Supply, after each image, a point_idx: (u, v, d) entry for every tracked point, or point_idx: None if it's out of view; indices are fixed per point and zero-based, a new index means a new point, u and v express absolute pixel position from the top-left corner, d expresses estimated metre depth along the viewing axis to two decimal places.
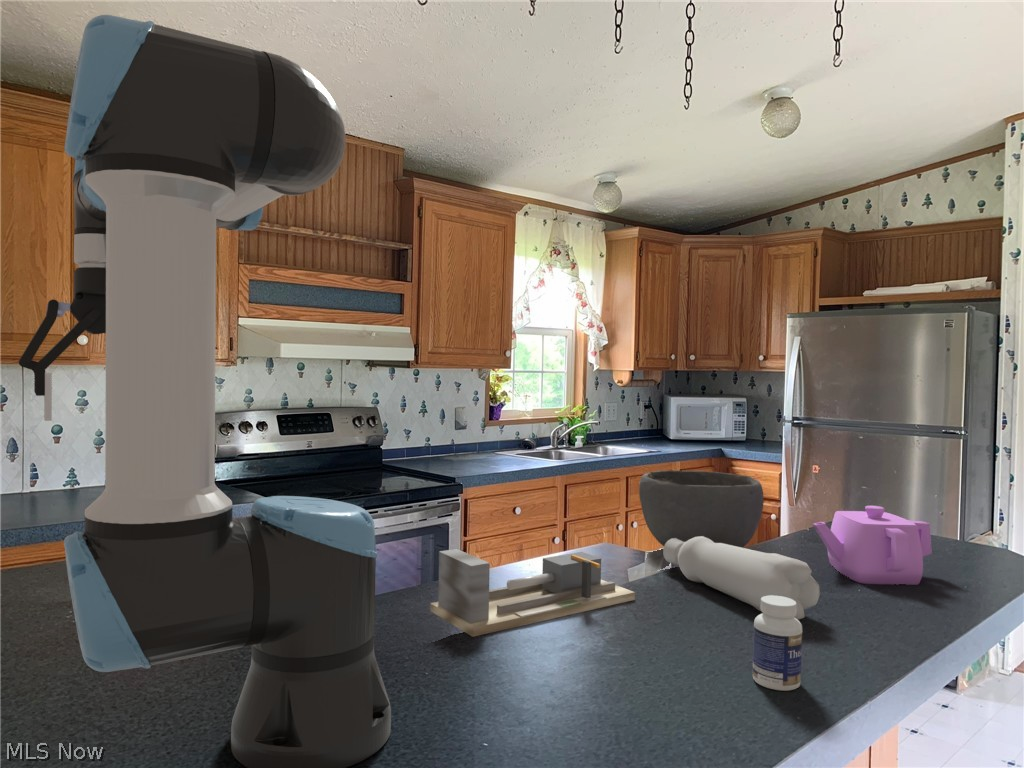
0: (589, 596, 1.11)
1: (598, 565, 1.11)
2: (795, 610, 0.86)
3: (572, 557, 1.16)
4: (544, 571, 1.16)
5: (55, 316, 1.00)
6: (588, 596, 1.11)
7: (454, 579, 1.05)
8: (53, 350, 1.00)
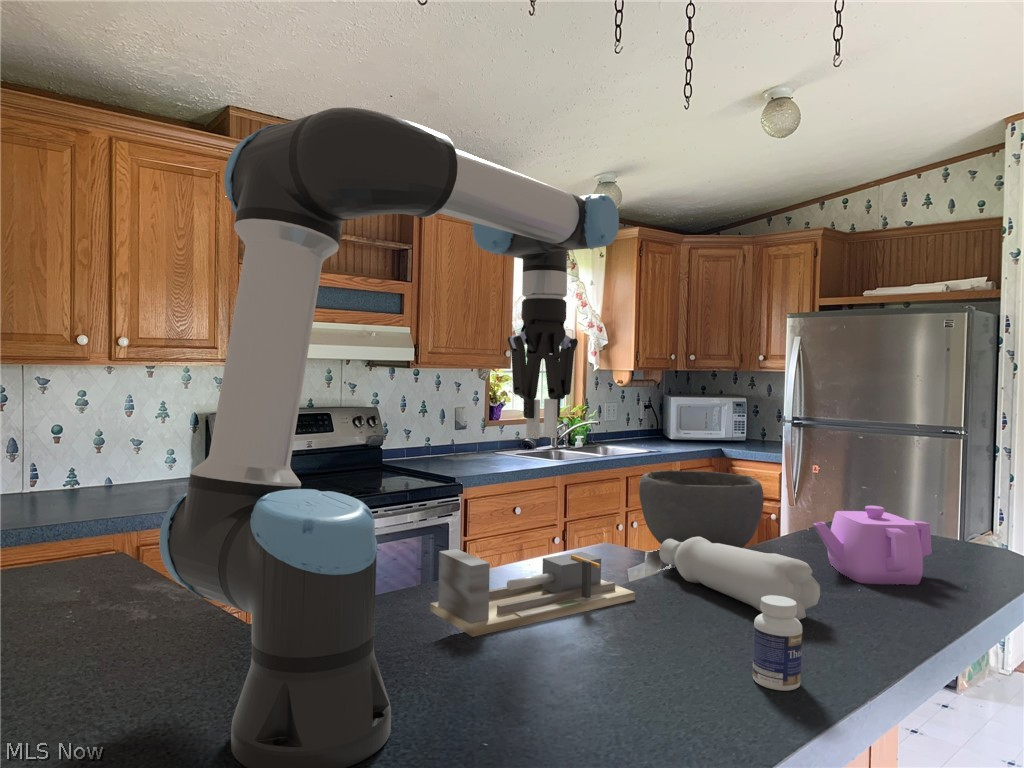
0: (589, 596, 1.11)
1: (598, 565, 1.11)
2: (795, 610, 0.86)
3: (572, 557, 1.16)
4: (544, 571, 1.16)
5: (524, 347, 1.21)
6: (588, 596, 1.11)
7: (454, 579, 1.05)
8: (534, 378, 1.22)
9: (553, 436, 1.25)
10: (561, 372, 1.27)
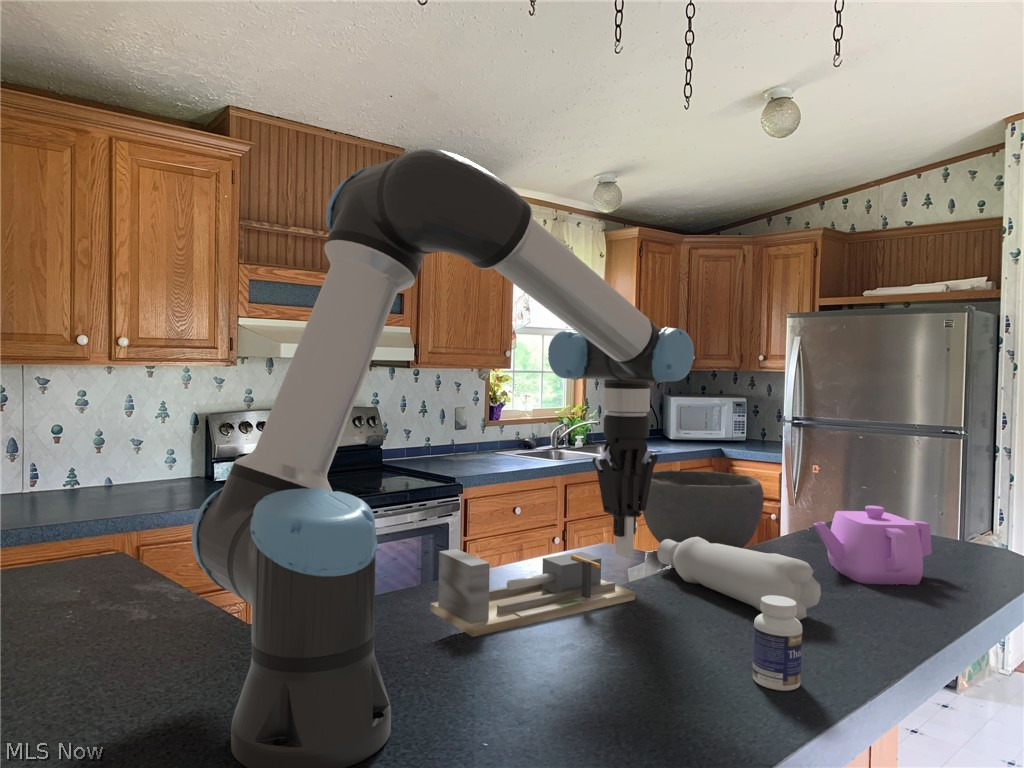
0: (589, 596, 1.11)
1: (598, 565, 1.11)
2: (795, 610, 0.86)
3: (572, 557, 1.16)
4: (544, 571, 1.16)
5: (610, 468, 1.19)
6: (588, 596, 1.11)
7: (454, 579, 1.05)
8: (623, 497, 1.21)
9: (629, 554, 1.22)
10: None
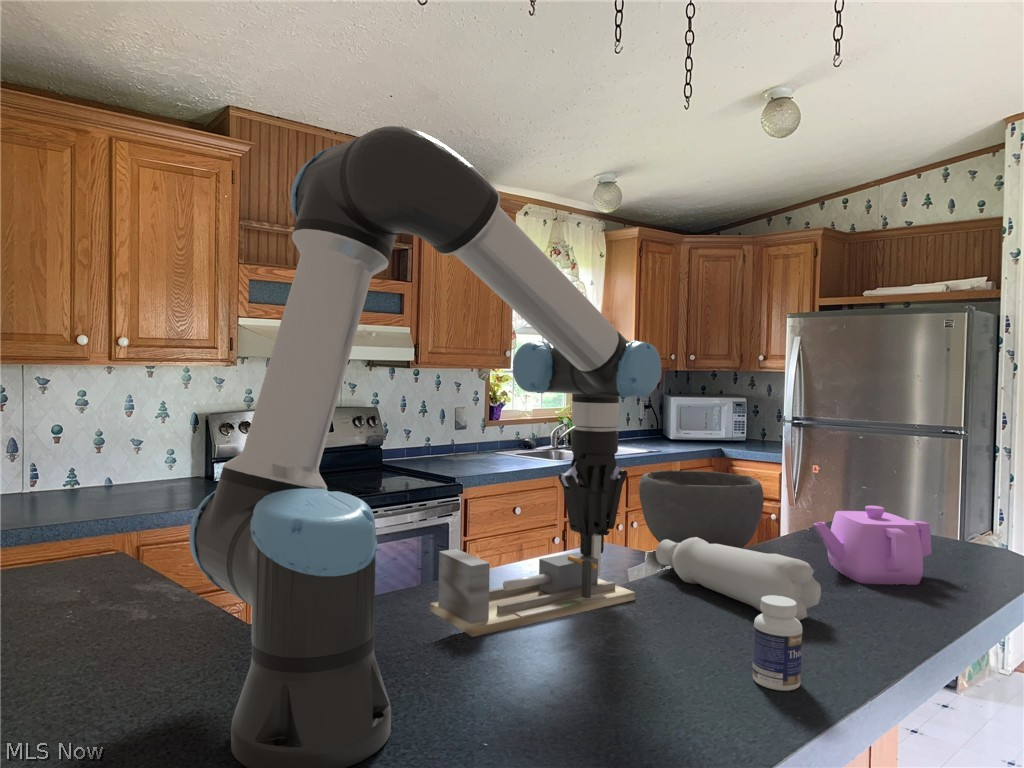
0: (589, 596, 1.11)
1: (595, 566, 1.11)
2: (795, 610, 0.86)
3: (569, 558, 1.16)
4: (541, 572, 1.16)
5: (577, 485, 1.15)
6: (588, 596, 1.11)
7: (454, 579, 1.05)
8: (589, 515, 1.17)
9: None
10: (606, 504, 1.21)
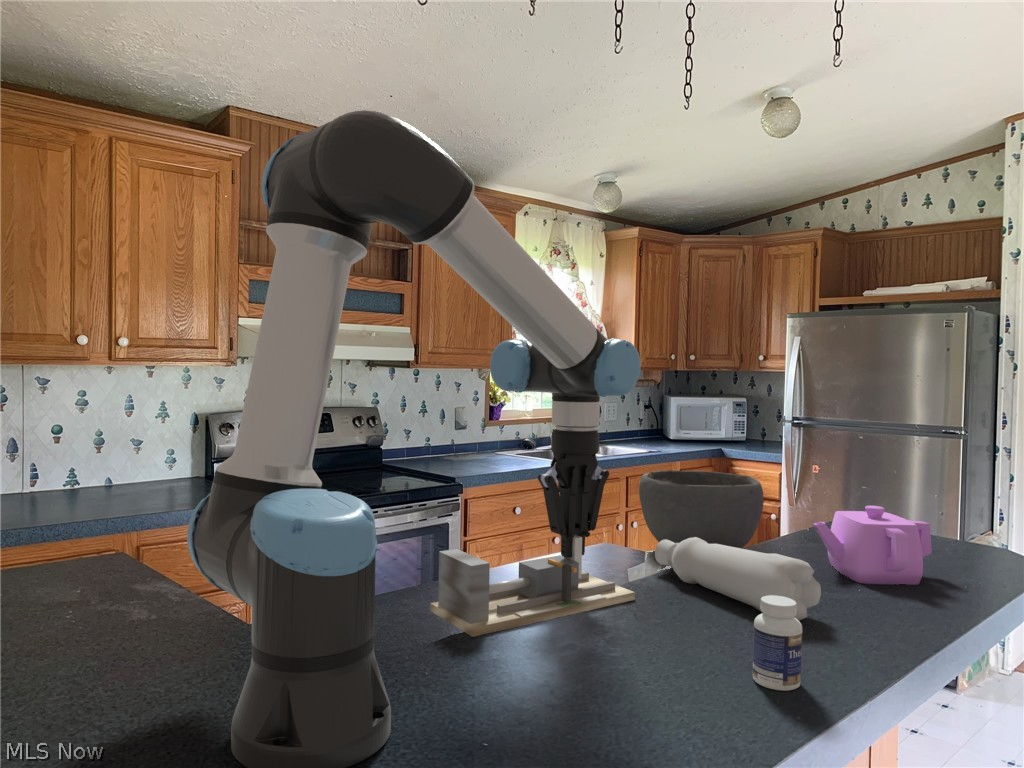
0: (569, 600, 1.09)
1: (574, 569, 1.09)
2: (795, 610, 0.86)
3: (549, 561, 1.14)
4: (520, 575, 1.13)
5: (556, 486, 1.13)
6: (568, 600, 1.09)
7: (454, 579, 1.05)
8: (570, 516, 1.15)
9: None
10: (588, 505, 1.19)
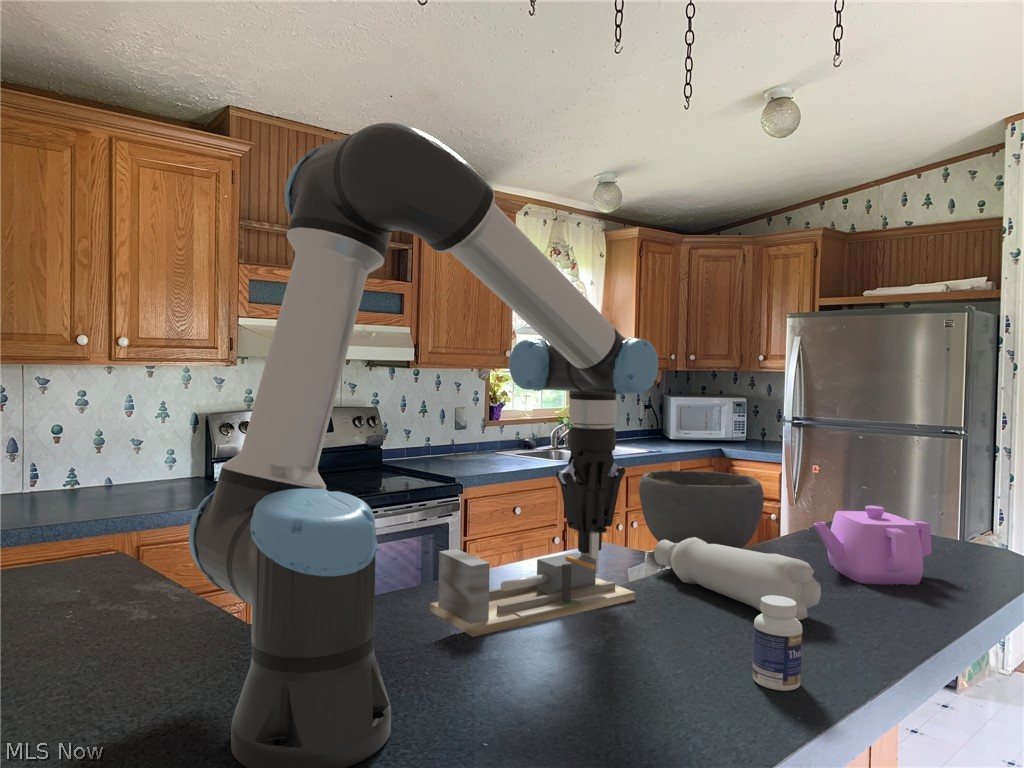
0: (569, 600, 1.09)
1: (592, 566, 1.11)
2: (795, 610, 0.86)
3: (567, 558, 1.16)
4: (538, 572, 1.15)
5: (574, 483, 1.15)
6: (568, 600, 1.09)
7: (454, 579, 1.05)
8: (587, 512, 1.17)
9: None
10: (604, 501, 1.21)
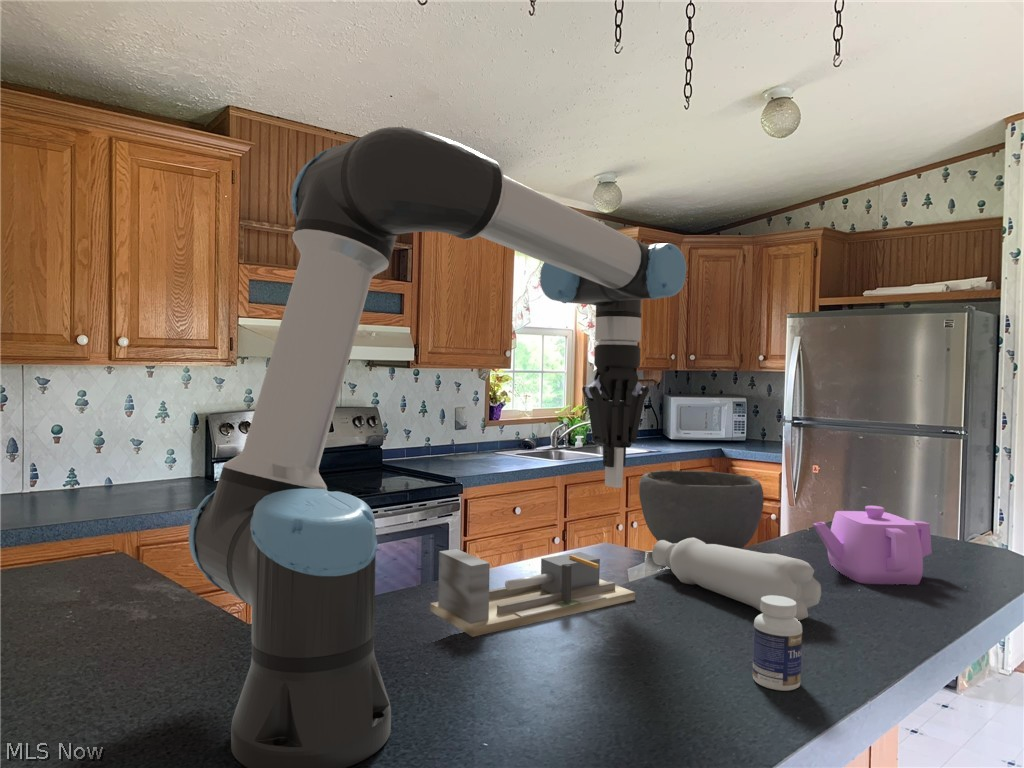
0: (569, 600, 1.09)
1: (596, 565, 1.11)
2: (795, 610, 0.86)
3: (571, 557, 1.16)
4: (542, 571, 1.16)
5: (600, 396, 1.19)
6: (568, 600, 1.09)
7: (454, 579, 1.05)
8: (612, 427, 1.20)
9: (619, 485, 1.21)
10: (628, 419, 1.24)
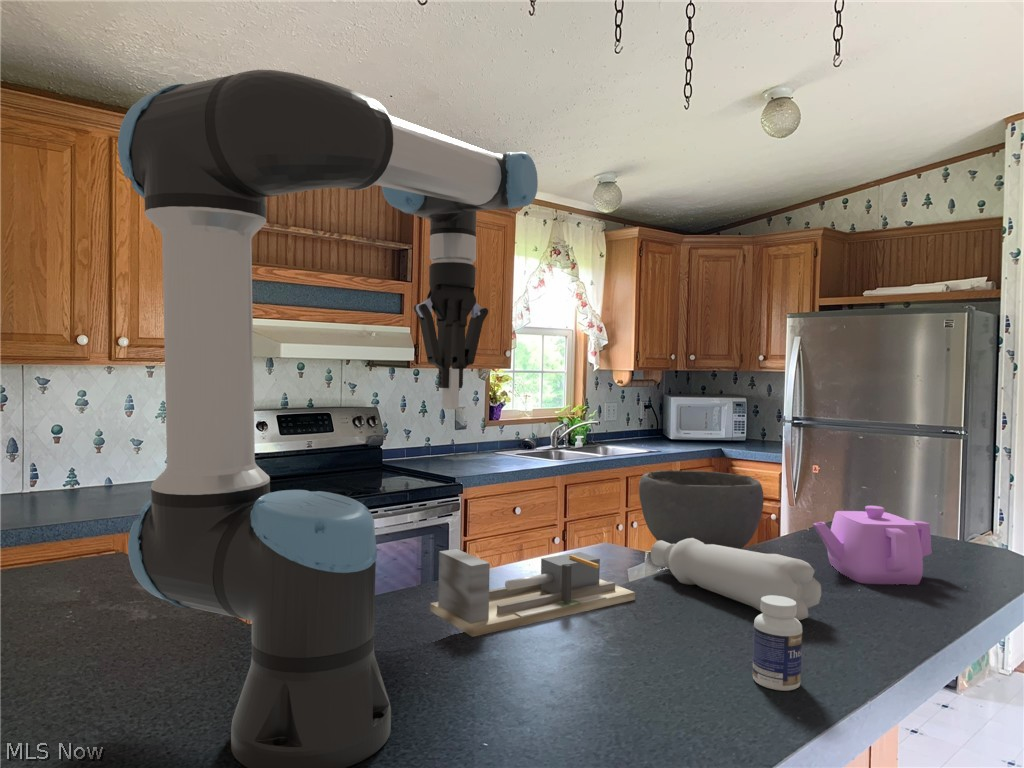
0: (569, 600, 1.09)
1: (596, 565, 1.11)
2: (795, 610, 0.86)
3: (571, 557, 1.16)
4: (542, 571, 1.16)
5: (431, 315, 1.17)
6: (568, 600, 1.09)
7: (454, 579, 1.05)
8: (446, 347, 1.18)
9: (454, 407, 1.19)
10: (467, 341, 1.22)
